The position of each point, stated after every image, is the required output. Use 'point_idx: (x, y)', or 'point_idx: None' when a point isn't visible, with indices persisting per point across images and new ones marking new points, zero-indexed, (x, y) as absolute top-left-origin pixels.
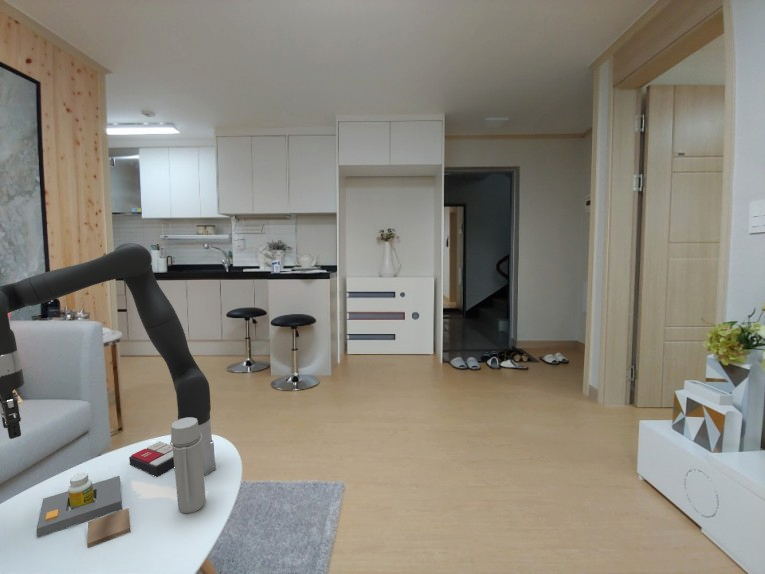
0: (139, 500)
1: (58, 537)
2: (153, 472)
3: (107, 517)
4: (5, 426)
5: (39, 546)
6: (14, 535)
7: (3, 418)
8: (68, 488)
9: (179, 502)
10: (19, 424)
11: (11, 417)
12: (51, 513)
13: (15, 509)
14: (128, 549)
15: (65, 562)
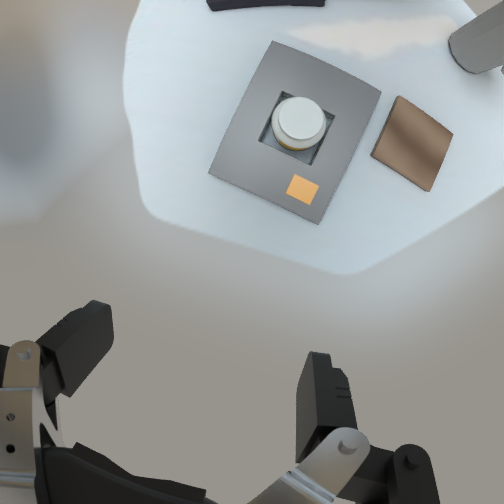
0: (377, 65)
1: (351, 200)
2: (313, 2)
3: (393, 130)
4: (108, 343)
5: (345, 229)
6: (265, 240)
7: (81, 377)
8: (289, 144)
9: (480, 68)
10: (337, 408)
11: (77, 341)
12: (299, 189)
13: (171, 209)
14: (476, 164)
15: (424, 225)
